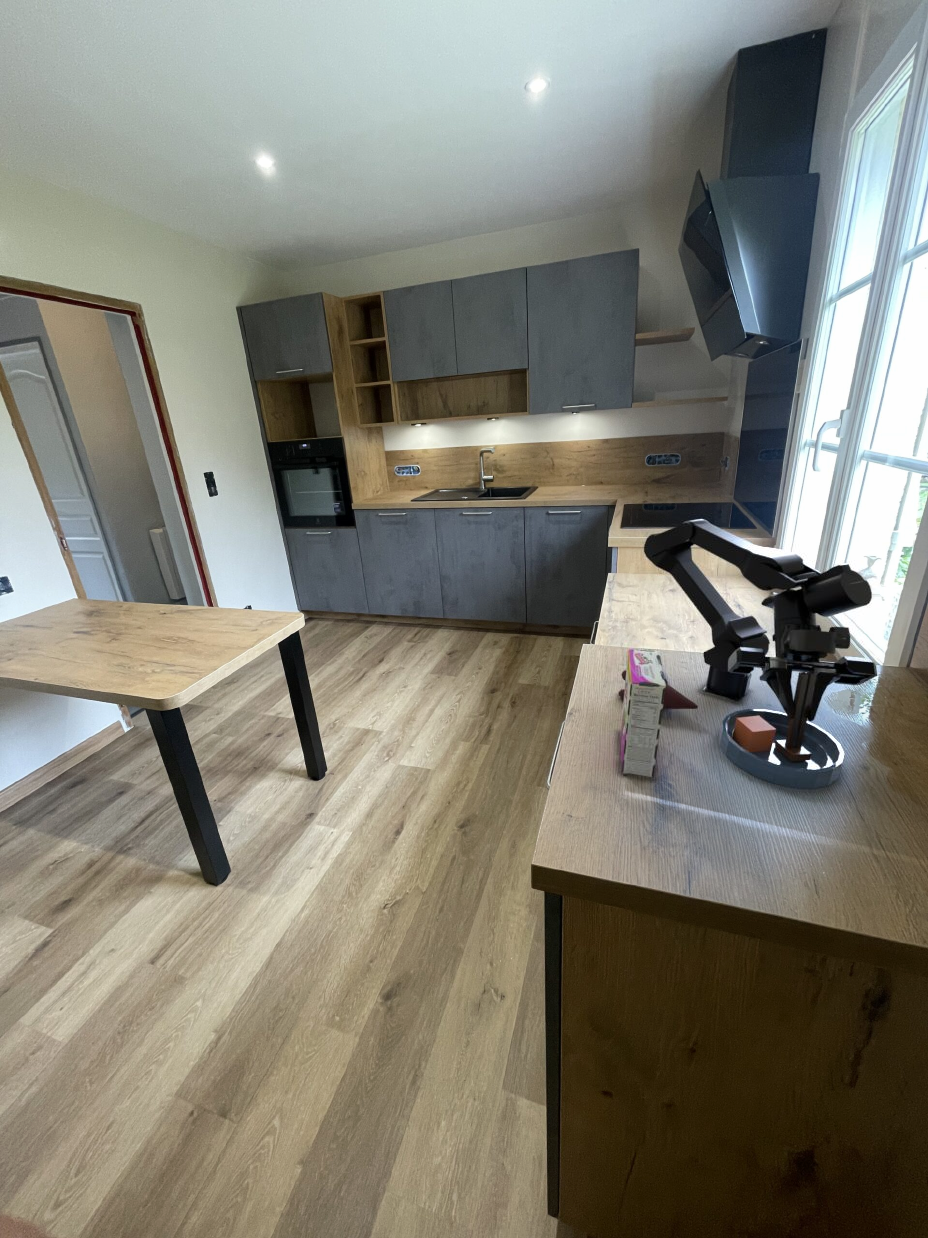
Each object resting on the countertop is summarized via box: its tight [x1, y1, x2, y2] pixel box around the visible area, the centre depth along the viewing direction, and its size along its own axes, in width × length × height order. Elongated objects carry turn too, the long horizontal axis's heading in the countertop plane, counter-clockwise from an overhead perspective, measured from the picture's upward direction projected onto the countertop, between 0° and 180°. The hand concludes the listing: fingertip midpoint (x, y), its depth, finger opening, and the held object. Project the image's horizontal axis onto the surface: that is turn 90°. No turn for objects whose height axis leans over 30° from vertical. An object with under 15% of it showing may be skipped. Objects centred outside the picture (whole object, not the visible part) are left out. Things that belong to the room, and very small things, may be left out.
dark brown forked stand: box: [775, 672, 817, 761], centre depth 74 cm, size 4×3×14 cm
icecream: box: [617, 669, 699, 710], centre depth 89 cm, size 7×7×15 cm
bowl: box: [718, 708, 846, 790], centre depth 77 cm, size 16×16×4 cm
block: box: [733, 716, 776, 753], centre depth 79 cm, size 4×4×4 cm
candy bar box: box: [620, 648, 666, 778], centre depth 75 cm, size 11×5×16 cm, turn 164°
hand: (801, 719), depth 73 cm, fingers closed on dark brown forked stand, 2 cm apart
